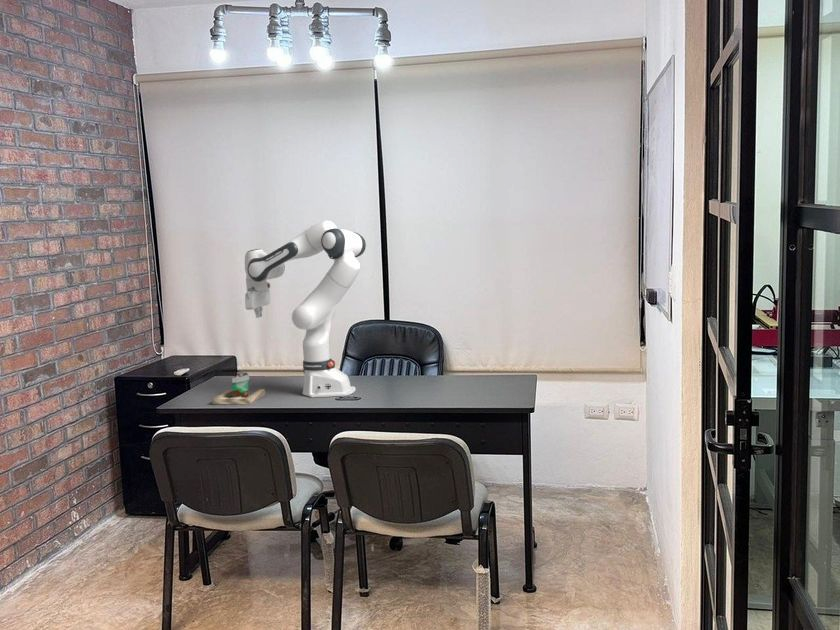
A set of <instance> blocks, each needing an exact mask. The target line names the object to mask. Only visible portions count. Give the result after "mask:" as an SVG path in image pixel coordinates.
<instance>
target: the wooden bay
mask: <svg viewBox="0 0 840 630" xmlns="http://www.w3.org/2000/svg"><path fill="white" fill-rule="evenodd" d="M233 395H234V392H233V388H232V389H231V388H230V389H227V390H226V391H224V392H222V393H220V394H218V395H217V396H215V397H213V398H212V399H211V401H212V405H213V404H250V405H251V404H253V403H255V402H256V401H257V399H258V400H259V399H261V398H262V397H264V396H265V395H266V390H265V388H260V389H258V390H257V391H255V392H253V393H251V394H250V395H248V397H246V398H234V396H233ZM263 395H264V396H263ZM231 396H232V397H231ZM229 397H230V398H229ZM260 397H261V398H260ZM255 400H256V401H255ZM254 401H255V402H254ZM252 402H253V403H252Z"/></svg>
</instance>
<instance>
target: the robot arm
mask: <svg viewBox="0 0 840 630" xmlns="http://www.w3.org/2000/svg"><path fill="white" fill-rule="evenodd" d="M366 247H367V243H366V240H365V238H364V236H362V235H361V234H360V233H358V232H355V231H354V232H353V231H350V230H348V229H344V228H338V227H337V225H336V224H335V223H334V222H333V221H331V220H323V221H322V220H321V221H320V222H317V223H316V224H313V225H311V226H309V227H308V228H307V229H305V230H304V231H303V232H301V233H299V234H298V235H296V237H294V238H292V239H291V240H289V241H287V243H285V244H284V245H282V246H281V247H279V248H277V249H275V250H273V251H272V252H270V253H267V252H265V251H264V250H263V249H262V248H255V249H251V250H248V251H247V252H246V253H245V255H244V271H245V274H246V276H245V284H246V285H245V286H246V292H245V295H244V297H245V298H244V303H245V310H247V311H248V310H249V311H251V310H253V312H254V315H255V318H257V319H259V318H262V317H263V309H264V306H268V305H269V304H270V303H271V290H270V289H271V283H270V282H268V280H272V279H277V278H280V277H281V276H282V275H283V274H284V272H285V271H286V270H285V268H286V266H285V263H286V262H289V261H293V260H299V259H305V258H309V257H312V256H313V257H314V256H315V255H318V254H319V253H322V252H323V251H324V252H325V253H326V254H327V256H328V257H329V259H331V260H334V261H333V264H332V265H331V267H330V268H329V270H328V271H327V273H325V275H324V277H323V278H322V279H321V281H320V282H319V283H318V285H317V286H316V287H315V288H314V289H313V290H312V291H311V292H310V293H309V295H307V297H306V298H305V299H304V300H302V302H301V303H300V304H299V305H298V306H297V307H296V308H294V310H293V312H292V314H291V320H292V323H293V324H294V326H295V327H296V328H298V329H299V330H304V331H305V330H306V331H305V335H304V339H303V340H302V352H303V353H302V354H303V360H302V370H303V371H302V372H303V378H304V379H303V388H302V392H301V393H302V395H303V396H307V397H309V398H326V397H345V396H349V395H352V394H354V393H355V392H356V389H357V388H356V387H355V386H354V385H353V386H351V382H350V378H349V376H348V375H347V374H346V373H344V372H343V371H341V370H340V369H338V368H337V367H336V359H332V358H331V353H330V352H331V350H330V335H331V327H332V322H333V318H334V317H335V314H336V313H335V312H336V311H335V310H336V309H335V306H336V305H337V304H338V303H340V302H341V301H342V298H343V297H344V296H345V295H346V294H347V292H348V291H349V289H350V288H351V286H352V285H353V284H354V282H355V280H356V278H357V276H358V275H359V272H360V270H361V263H360V262H359V260H358V259H357V258H358V257H361V256H362V255H363V254H364V252H365V250H366Z"/></svg>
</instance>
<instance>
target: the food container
mask: <svg viewBox="0 0 840 630" xmlns="http://www.w3.org/2000/svg"><path fill="white" fill-rule="evenodd" d="M250 379H251V377H250V374H249V373H248V372H244V371H243V372H241V371H237V372H236V375H235V376H234V377H231V383H232V389H233V392H234V396H233V398H246V397H248V396H249V380H250Z"/></svg>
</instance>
